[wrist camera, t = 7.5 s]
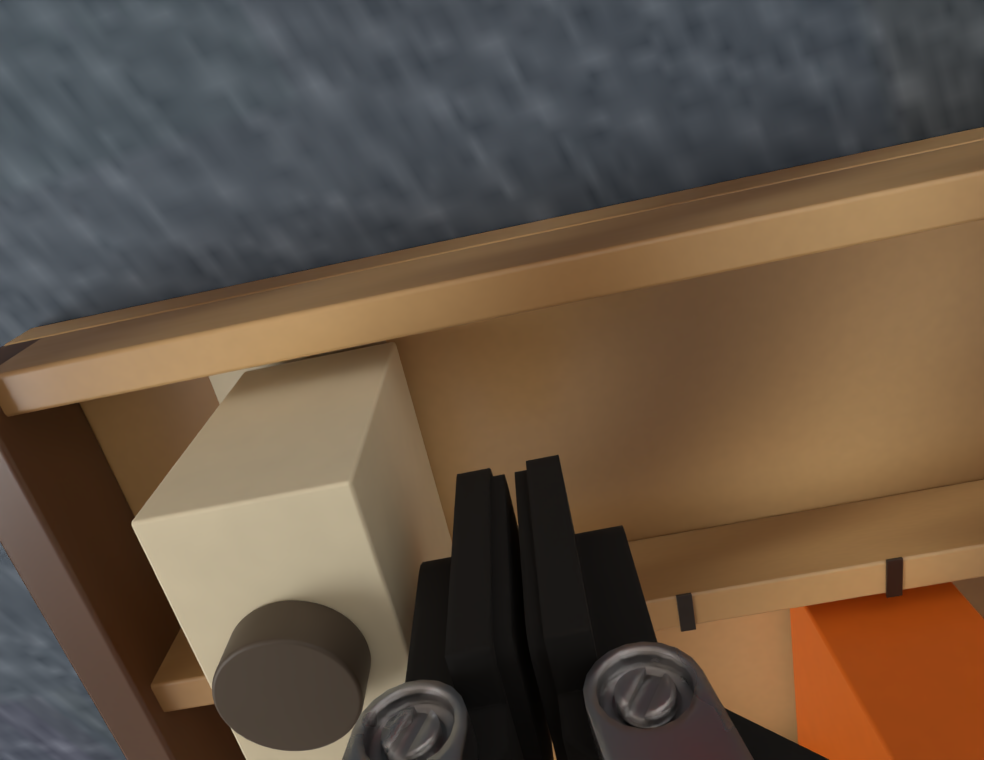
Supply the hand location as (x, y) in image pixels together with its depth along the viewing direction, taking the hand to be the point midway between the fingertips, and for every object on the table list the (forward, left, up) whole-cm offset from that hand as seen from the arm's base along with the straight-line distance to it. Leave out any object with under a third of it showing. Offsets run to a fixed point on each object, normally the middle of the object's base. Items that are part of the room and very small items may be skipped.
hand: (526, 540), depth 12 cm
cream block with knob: (+3, 0, -3) cm, 5 cm away
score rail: (-3, +3, -5) cm, 6 cm away
